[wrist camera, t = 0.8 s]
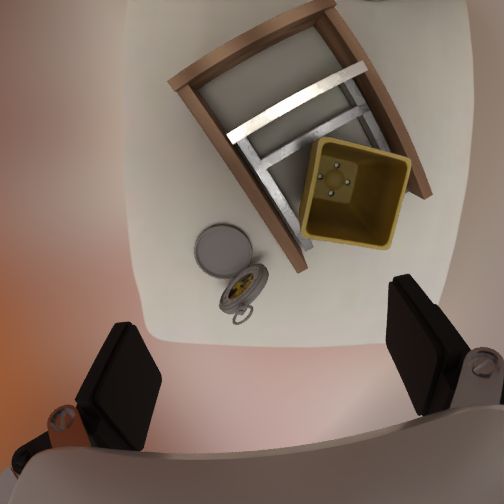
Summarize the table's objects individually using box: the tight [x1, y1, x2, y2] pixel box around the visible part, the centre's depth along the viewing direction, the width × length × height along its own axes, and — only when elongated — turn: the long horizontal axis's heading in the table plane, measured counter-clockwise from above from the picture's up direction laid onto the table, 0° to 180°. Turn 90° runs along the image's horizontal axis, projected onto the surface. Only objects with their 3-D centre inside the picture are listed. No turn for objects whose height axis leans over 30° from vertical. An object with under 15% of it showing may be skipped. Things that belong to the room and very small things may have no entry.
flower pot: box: [299, 136, 411, 250], centre depth 29 cm, size 9×9×9 cm
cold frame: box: [167, 0, 433, 273], centre depth 28 cm, size 17×23×6 cm
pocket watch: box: [194, 225, 269, 325], centre depth 32 cm, size 8×8×10 cm
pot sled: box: [227, 60, 408, 251], centre depth 29 cm, size 14×15×7 cm
